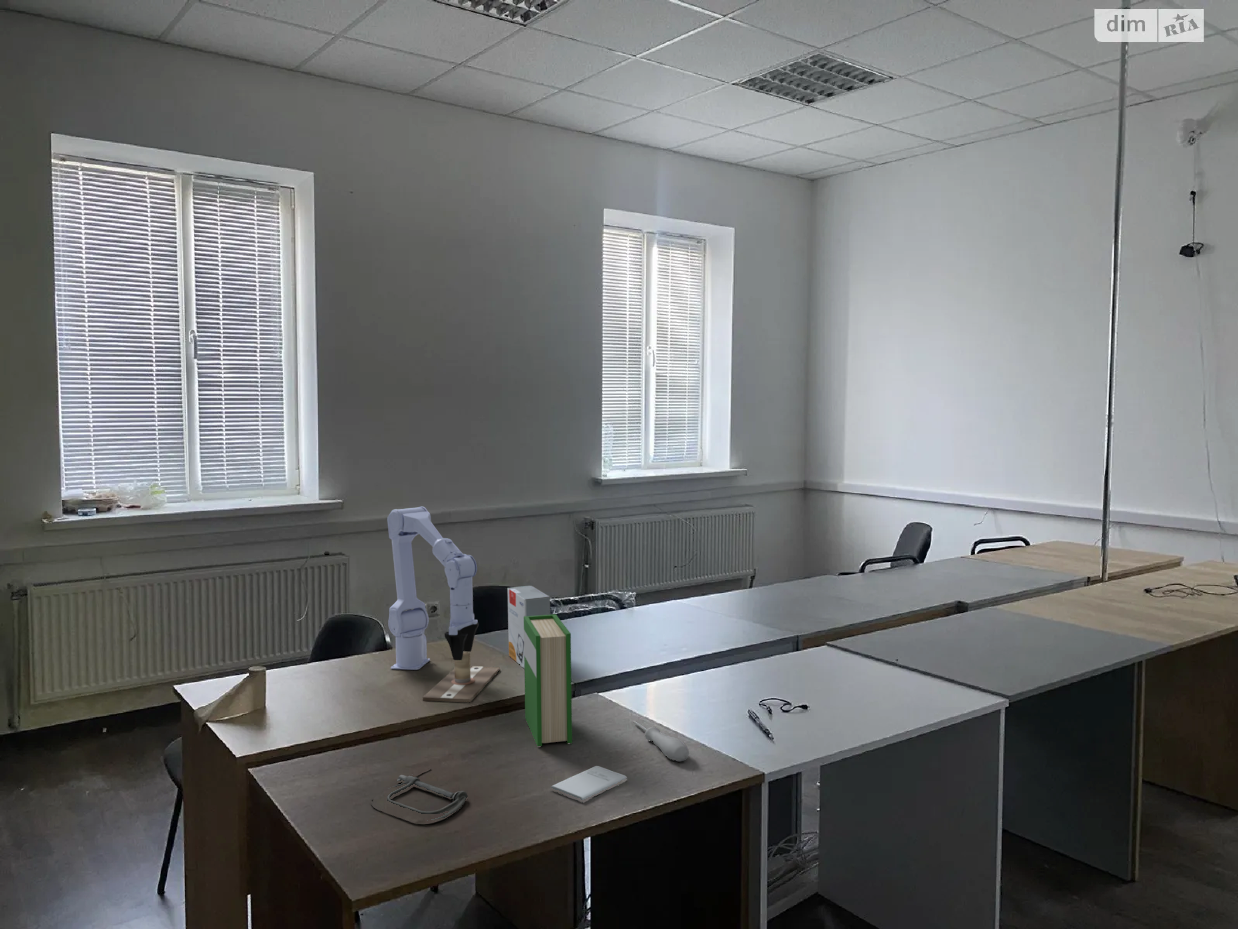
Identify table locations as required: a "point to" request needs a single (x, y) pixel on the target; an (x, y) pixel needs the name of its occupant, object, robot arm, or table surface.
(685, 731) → the table surface
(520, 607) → the hard drive box
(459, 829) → the table surface
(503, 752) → the table surface
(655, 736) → the screwdriver
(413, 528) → the robot arm
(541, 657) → the hardback book
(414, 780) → the c clamp
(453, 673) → the board
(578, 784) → the external hard drive
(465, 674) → the tan cylinder
